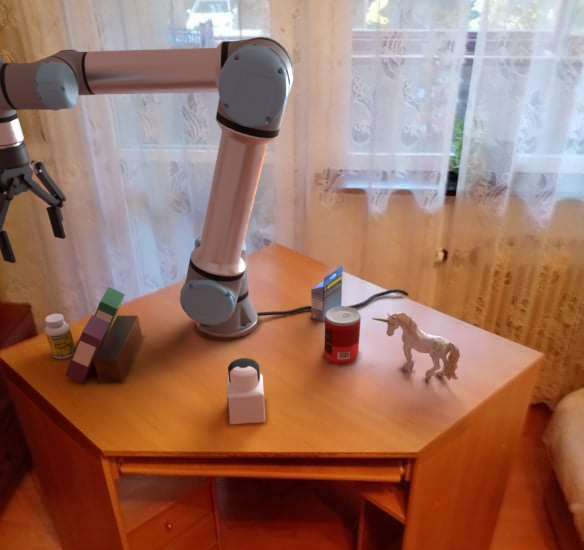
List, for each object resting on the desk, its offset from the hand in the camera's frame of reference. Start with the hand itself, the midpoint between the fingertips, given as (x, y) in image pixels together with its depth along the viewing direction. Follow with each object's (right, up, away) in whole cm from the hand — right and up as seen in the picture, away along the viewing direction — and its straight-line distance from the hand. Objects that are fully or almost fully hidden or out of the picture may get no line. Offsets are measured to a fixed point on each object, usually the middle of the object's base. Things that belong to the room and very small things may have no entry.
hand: (36, 249), depth 125 cm
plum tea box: (+7, -26, +6) cm, 27 cm away
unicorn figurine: (+80, -27, +5) cm, 85 cm away
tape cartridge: (+63, -10, +28) cm, 70 cm away
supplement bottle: (+1, -21, +14) cm, 26 cm away
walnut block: (+15, -23, +12) cm, 30 cm away
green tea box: (+7, -18, +17) cm, 25 cm away
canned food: (+66, -22, +12) cm, 70 cm away
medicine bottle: (+45, -35, -4) cm, 57 cm away
